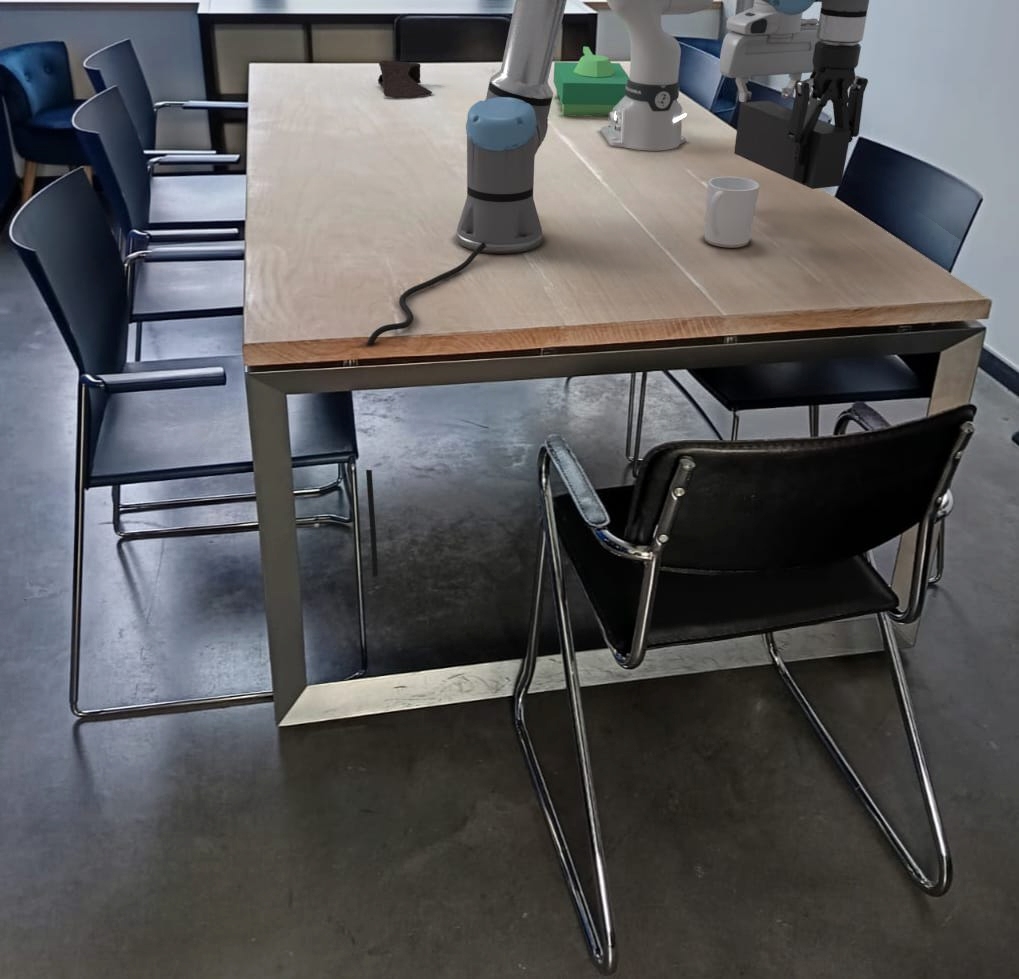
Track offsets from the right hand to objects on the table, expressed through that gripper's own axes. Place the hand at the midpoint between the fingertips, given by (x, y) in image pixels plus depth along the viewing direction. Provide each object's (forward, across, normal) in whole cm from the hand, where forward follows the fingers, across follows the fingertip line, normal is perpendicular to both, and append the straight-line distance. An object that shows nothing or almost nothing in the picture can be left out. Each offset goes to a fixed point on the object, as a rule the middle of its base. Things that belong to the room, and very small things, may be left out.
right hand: (765, 100), depth 204 cm
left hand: (+10, 0, +18) cm, 21 cm away
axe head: (+19, +31, -123) cm, 129 cm away
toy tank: (+20, -11, -94) cm, 96 cm away
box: (+11, 0, +9) cm, 14 cm away
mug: (+21, +16, +15) cm, 31 cm away
